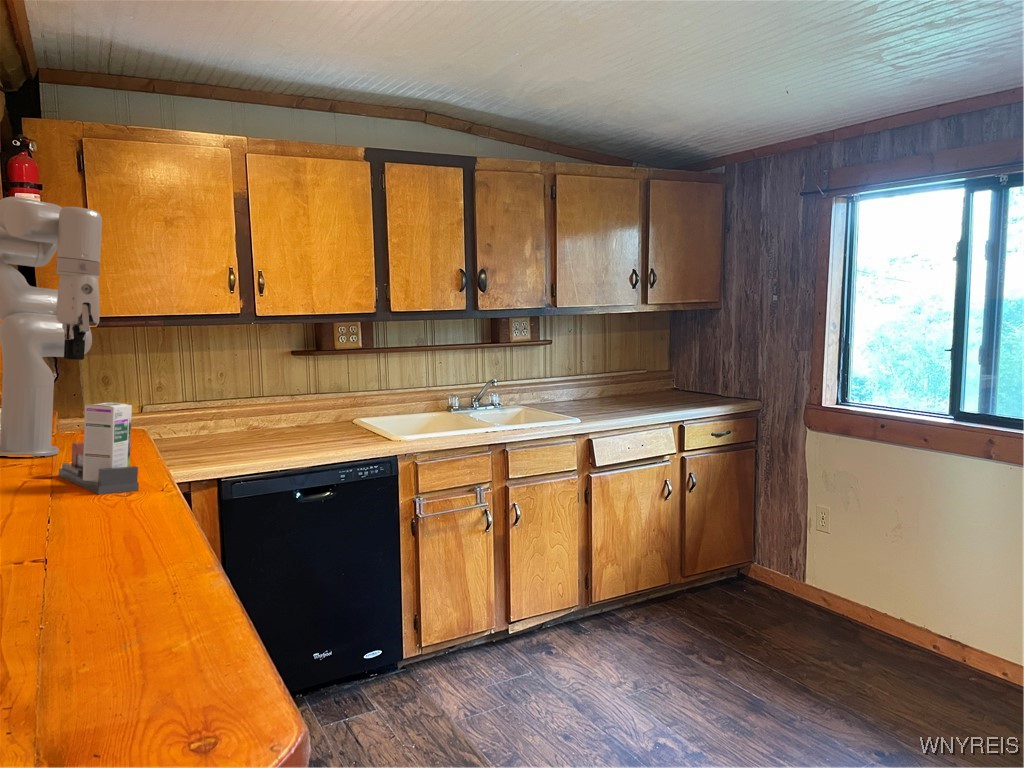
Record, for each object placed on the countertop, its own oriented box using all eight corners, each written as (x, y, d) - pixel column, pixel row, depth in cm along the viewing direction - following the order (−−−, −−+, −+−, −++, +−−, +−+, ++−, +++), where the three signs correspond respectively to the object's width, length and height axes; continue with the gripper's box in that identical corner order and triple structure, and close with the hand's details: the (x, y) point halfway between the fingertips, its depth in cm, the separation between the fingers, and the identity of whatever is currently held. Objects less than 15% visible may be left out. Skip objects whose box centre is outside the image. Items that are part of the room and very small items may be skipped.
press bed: (58, 476, 139) (59, 453, 139) (96, 472, 145) (97, 451, 145) (98, 494, 128) (99, 470, 127) (138, 490, 133) (139, 467, 133)
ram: (71, 467, 140) (72, 443, 140) (89, 466, 143) (91, 442, 142) (89, 475, 134) (90, 450, 134) (108, 474, 137) (109, 448, 137)
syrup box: (111, 483, 130) (115, 406, 129) (80, 480, 131) (84, 403, 130) (129, 478, 136) (133, 404, 135) (100, 475, 136) (104, 401, 136)
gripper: (113, 272, 141) (109, 362, 142) (83, 272, 151) (79, 357, 152) (72, 266, 135) (67, 361, 136) (43, 267, 145) (39, 355, 146)
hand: (73, 359), depth 144 cm, fingers closed
